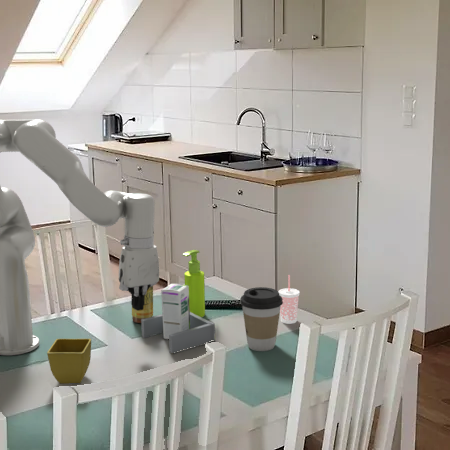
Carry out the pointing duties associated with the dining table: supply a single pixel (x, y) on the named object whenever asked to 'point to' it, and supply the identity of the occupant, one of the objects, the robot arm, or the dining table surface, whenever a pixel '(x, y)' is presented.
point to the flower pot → (69, 359)
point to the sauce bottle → (147, 309)
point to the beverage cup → (289, 304)
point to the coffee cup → (261, 317)
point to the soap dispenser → (195, 284)
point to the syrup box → (175, 309)
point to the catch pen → (185, 339)
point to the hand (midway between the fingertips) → (137, 308)
